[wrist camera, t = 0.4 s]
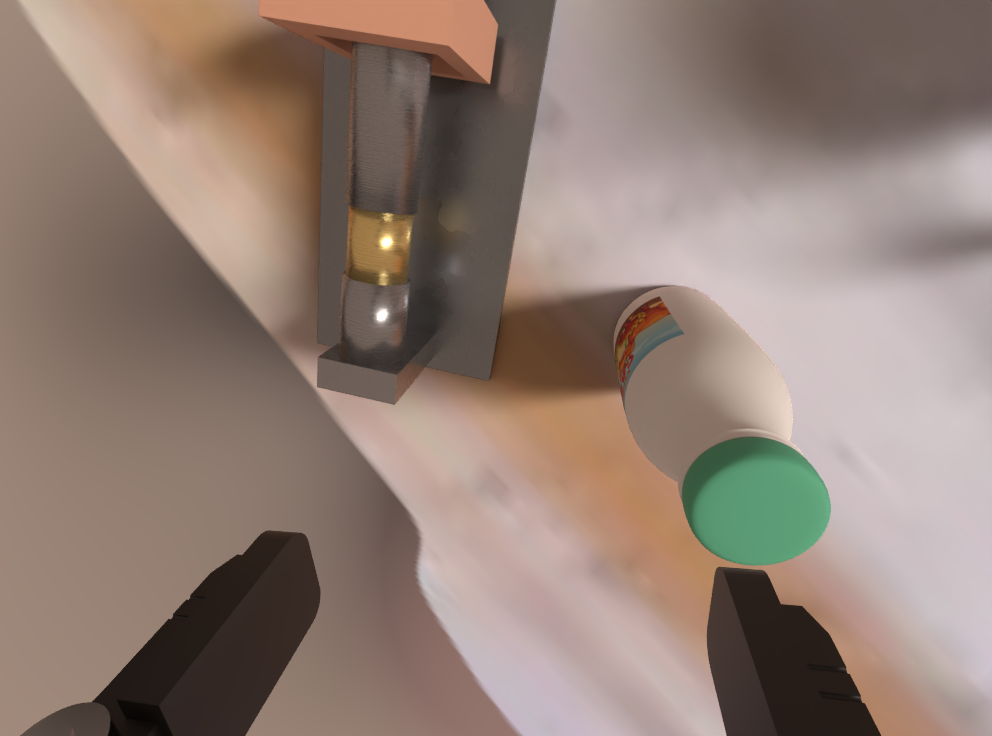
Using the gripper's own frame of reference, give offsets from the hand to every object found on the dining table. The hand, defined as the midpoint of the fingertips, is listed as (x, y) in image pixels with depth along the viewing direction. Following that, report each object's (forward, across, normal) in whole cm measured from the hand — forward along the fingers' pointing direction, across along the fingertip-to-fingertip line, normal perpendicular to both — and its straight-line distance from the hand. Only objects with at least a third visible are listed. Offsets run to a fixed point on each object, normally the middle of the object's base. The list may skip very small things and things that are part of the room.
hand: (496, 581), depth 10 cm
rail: (+28, +9, -10) cm, 31 cm away
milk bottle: (+28, -7, +4) cm, 29 cm away
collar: (+26, +8, -14) cm, 31 cm away
